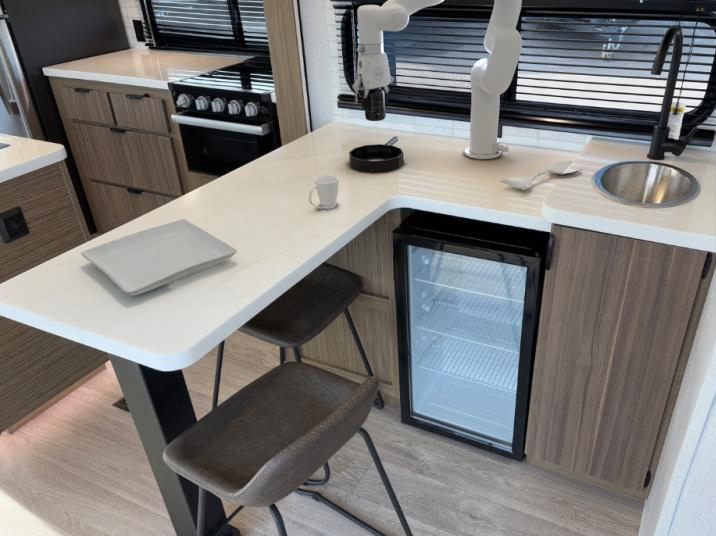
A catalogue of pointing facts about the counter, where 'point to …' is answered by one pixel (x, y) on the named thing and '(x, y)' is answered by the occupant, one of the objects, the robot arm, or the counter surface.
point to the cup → (326, 191)
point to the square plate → (158, 256)
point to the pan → (377, 157)
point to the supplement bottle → (376, 105)
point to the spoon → (556, 168)
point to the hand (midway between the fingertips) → (374, 107)
